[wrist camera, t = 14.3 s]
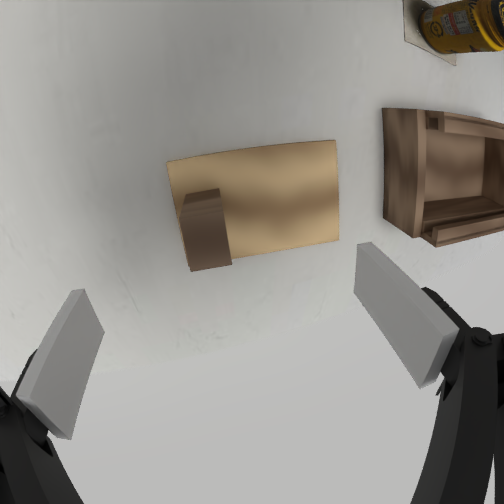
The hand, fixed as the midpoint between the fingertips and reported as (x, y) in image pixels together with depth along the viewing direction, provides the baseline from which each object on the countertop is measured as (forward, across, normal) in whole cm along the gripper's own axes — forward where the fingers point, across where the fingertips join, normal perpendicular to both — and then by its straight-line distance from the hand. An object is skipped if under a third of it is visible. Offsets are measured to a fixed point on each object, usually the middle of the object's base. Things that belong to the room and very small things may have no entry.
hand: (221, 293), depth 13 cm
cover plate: (+15, +4, -1) cm, 16 cm away
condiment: (+16, +26, +19) cm, 36 cm away
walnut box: (+15, +26, +2) cm, 31 cm away
